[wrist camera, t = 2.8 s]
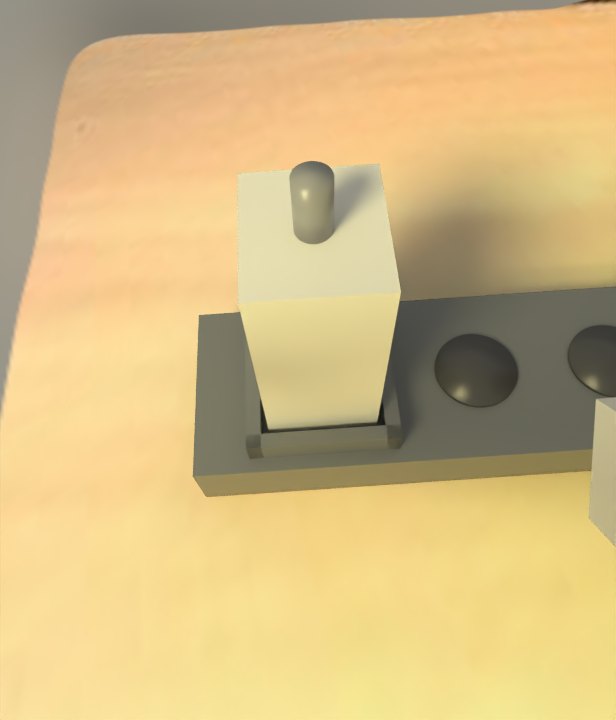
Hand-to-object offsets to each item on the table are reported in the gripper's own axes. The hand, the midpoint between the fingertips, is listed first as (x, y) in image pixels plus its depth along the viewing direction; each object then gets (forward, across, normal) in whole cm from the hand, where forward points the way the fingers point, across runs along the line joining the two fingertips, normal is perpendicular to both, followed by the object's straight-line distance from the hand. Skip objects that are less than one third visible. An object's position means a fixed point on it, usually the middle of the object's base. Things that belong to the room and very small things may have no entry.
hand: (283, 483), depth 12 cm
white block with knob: (+14, +1, -2) cm, 14 cm away
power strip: (+16, +7, -4) cm, 18 cm away
